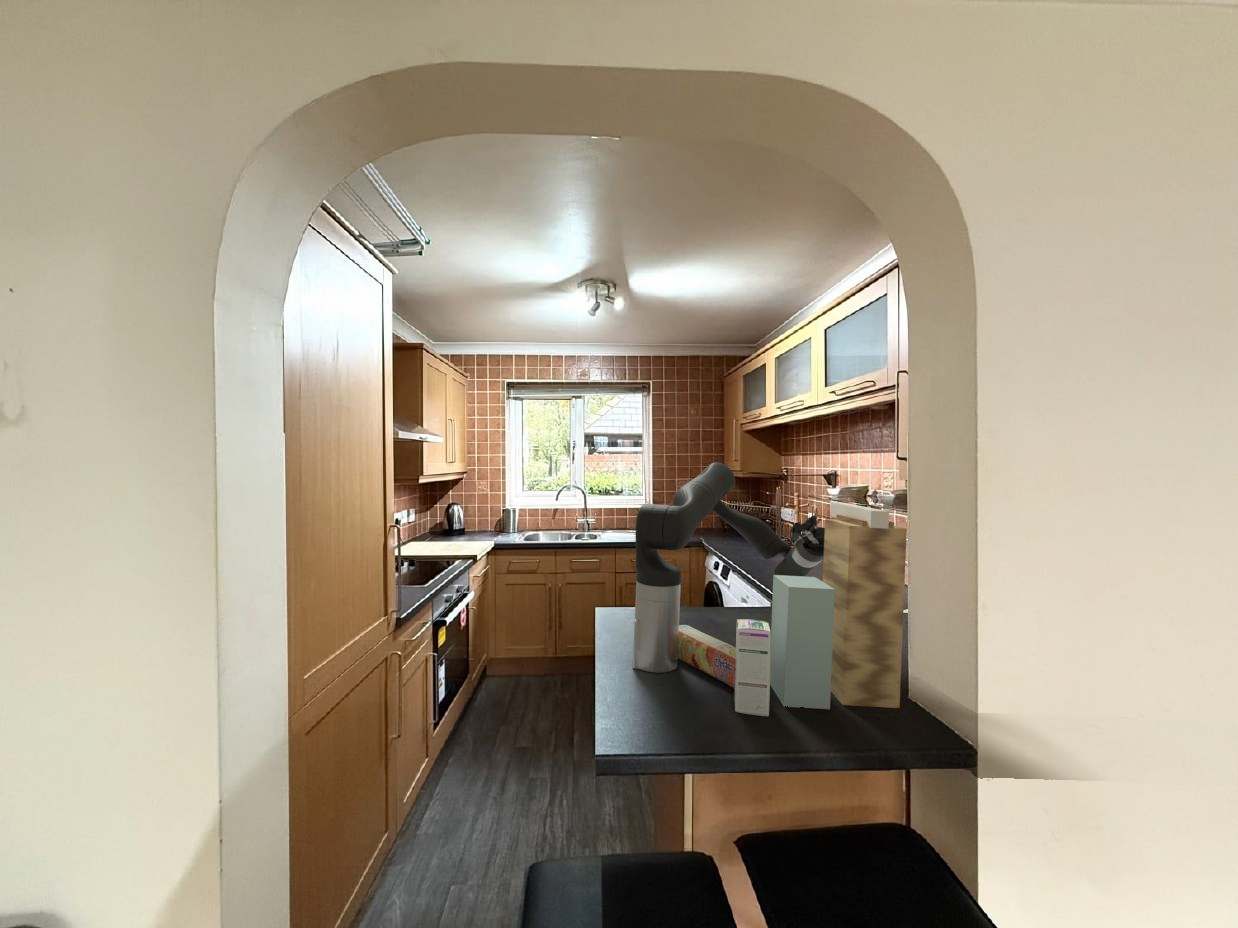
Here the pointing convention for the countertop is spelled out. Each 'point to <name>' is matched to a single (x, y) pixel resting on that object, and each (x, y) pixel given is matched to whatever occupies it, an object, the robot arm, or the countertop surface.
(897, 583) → the tall wood-grain block
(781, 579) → the post
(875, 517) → the bar
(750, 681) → the syrup box
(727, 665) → the snack package
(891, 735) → the countertop surface
